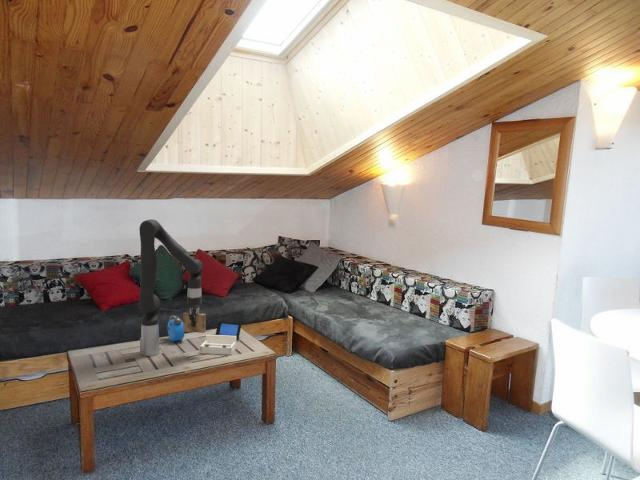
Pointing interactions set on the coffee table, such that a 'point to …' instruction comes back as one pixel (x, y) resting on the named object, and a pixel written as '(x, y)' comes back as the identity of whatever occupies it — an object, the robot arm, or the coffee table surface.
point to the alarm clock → (175, 329)
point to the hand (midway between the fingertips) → (194, 325)
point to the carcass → (218, 344)
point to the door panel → (199, 323)
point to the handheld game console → (228, 329)
